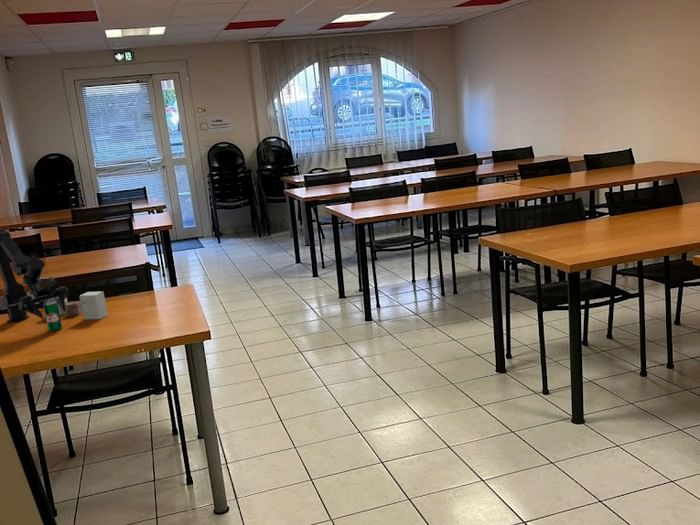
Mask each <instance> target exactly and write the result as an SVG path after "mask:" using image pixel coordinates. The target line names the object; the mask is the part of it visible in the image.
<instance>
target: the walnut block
mask: <svg viewBox="0 0 700 525" xmlns="http://www.w3.org/2000/svg"><path fill="white" fill-rule="evenodd" d="M65 306H66V311H67V314H66V315H67V316H66V317H71V316H72V317H73V316H74V315H75V316H81V314H83V311H82V306H81V301H80V300H77V301H75V300H74V301H69V302H68V304H66V305H65Z"/></svg>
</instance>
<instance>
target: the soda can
mask: <svg viewBox="0 0 700 525" xmlns="http://www.w3.org/2000/svg"><path fill="white" fill-rule="evenodd" d="M42 305H43V311H44V315H45V321H46V324H47V329H48V331H50V332H58V331H60V330H62V328H63V324H62V321H61V316H60V314H59V309H58V304H57V302H56V300H49V299H48V300H45V301H43V304H42ZM57 330H58V331H57Z"/></svg>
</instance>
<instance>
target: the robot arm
mask: <svg viewBox="0 0 700 525" xmlns="http://www.w3.org/2000/svg"><path fill="white" fill-rule="evenodd" d="M9 259H10V260H9ZM10 261H11V262H12V265H11V263H10ZM44 268H45V262H44V261H43V260H42V259H40V258H36V257H35V256H31V257H30V256H28V255H26V254H24V253H23V252H22V251H21V250H20V248H19V247H18V245H17V244H16V242H14V240H13V239H12V236H11V233H10V232H9V231H2V230H1V229H0V276H1V278H2V281H3V286H4V287H3V290H2V296H3V297H2V301H1V306H2V308H3V309H5V310H6V312H7V315H8V319H7V320H6V322H11V323H12V322H13V321H18V322H22V321H23V320H22V319H24V320H25V318H26V319H28V318H30V315H28V314H27V312H28V313H30V314H33V315H34V316H36V317H38V318H40V319H42V320H43V319H44V315H43V313H42V312H41V310H40V308H38V306H37V304H36V303H40V302H45V301H47V300H49V299H52V298H55V299H56V300H57V304H58V305H59V306H60V308H61V309H62V310H63V311H64V312H65V311H66V309H65V303H64V299H65V298H66V297H67V296H68V294H69V289H68V287H67V286H65V285H64V286H61V287H57V288H55V291H54V292H52V293H50V292H51V291H52V289H51V288H52V287H54V286H55V285H56V284H57V282H56V279H55V278H54V276H50V277H48V278H46V279H44V280H42V279H41V277H42V274H43V272H44ZM16 276H17V277H18V276H19V277H20V276H23V277H22V280H23V281H22V283H19V282H18V281H17V279H16ZM24 285H26V287H27V289H28V290H29V295H28V293H27V292H26V290H25V288H24ZM32 296H33V297H32ZM27 317H28V318H27Z"/></svg>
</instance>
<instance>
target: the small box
mask: <svg viewBox="0 0 700 525" xmlns="http://www.w3.org/2000/svg"><path fill="white" fill-rule="evenodd" d="M79 301H81V306H82V311H83V312H82V315H83V319H84V320H101V319H104V318H105V317H107V316H108V315H109V312H108V307H107V303H106V298H105V293H104V290H103V291H86V292H85V293H83V294H80V295H79Z"/></svg>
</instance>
